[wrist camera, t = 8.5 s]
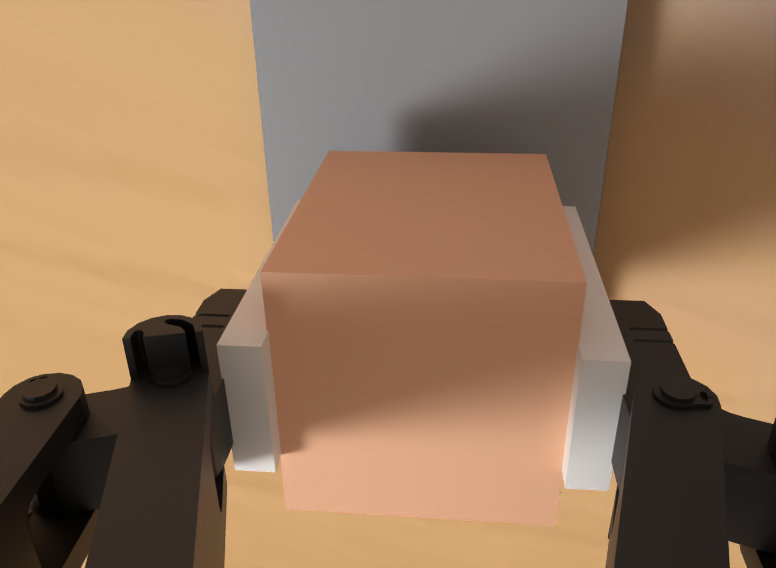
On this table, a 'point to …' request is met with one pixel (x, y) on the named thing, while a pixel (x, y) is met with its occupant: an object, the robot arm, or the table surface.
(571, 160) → the plinth
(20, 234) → the table surface
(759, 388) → the table surface
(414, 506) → the peach foam cube
